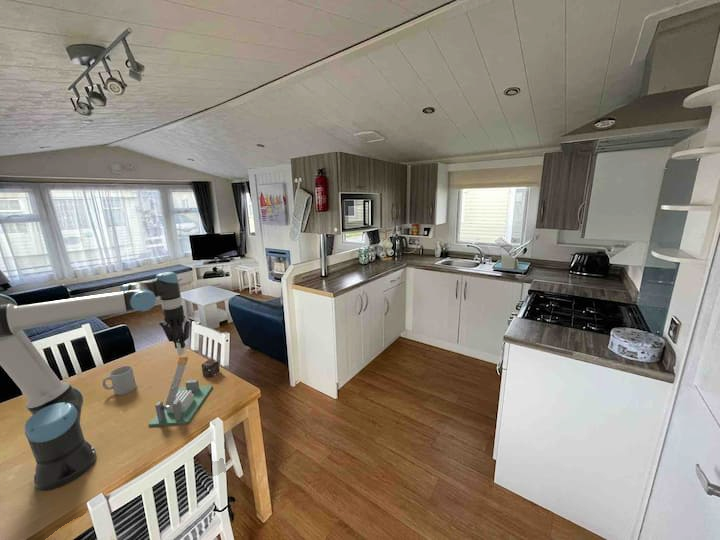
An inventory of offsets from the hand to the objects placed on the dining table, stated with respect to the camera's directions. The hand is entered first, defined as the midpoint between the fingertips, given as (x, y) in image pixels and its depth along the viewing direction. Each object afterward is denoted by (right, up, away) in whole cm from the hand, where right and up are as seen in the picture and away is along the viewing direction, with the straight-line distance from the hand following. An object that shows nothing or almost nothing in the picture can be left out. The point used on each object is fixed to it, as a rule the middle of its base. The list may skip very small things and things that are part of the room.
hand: (181, 354), depth 128 cm
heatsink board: (+1, -24, +1) cm, 24 cm away
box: (+1, -19, +24) cm, 30 cm away
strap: (+1, -12, -4) cm, 12 cm away
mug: (-38, -22, +11) cm, 45 cm away
